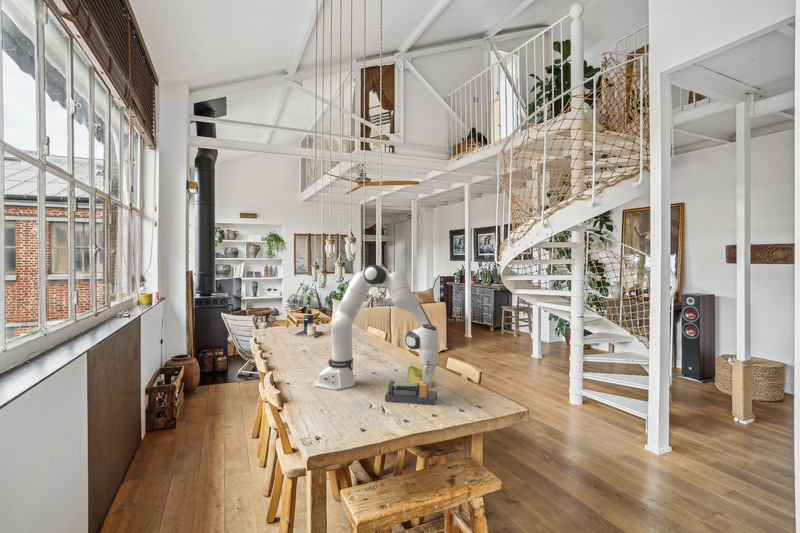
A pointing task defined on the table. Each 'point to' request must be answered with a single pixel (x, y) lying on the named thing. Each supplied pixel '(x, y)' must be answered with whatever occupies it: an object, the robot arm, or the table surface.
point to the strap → (404, 384)
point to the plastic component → (415, 375)
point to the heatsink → (409, 395)
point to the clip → (422, 388)
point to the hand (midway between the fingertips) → (429, 387)
